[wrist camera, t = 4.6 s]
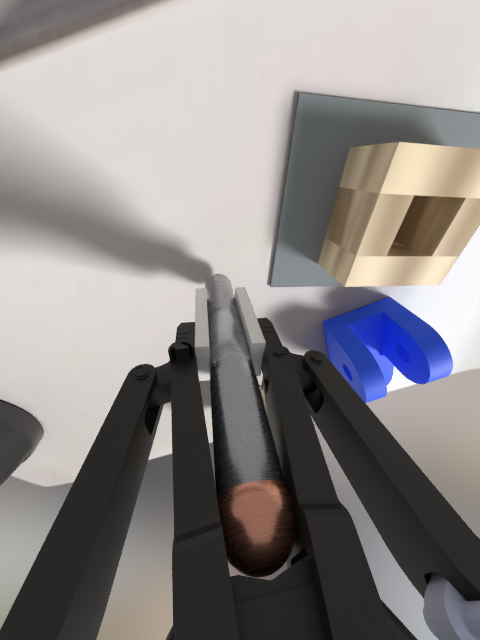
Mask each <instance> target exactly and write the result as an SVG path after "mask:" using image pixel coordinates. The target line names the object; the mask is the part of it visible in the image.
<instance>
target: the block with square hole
mask: <svg viewBox="0 0 480 640" xmlns="http://www.w3.org/2000/svg"><path fill="white" fill-rule="evenodd" d="M479 225H480V149H474V148H463V147H451V146H440V145H429V144H418V143H407V142H393V143H385V144H376V145H367V146H359V147H350V149H349V152H348V156H347V160H346V163H345V167H344V171H343V174H342V178H341V182H340V185H339V189H338V192H337V196H336V200H335V203H334V207H333V211H332V214H331V218H330V222H329V225H328V229H327V232H326V236H325V240H324V243H323V247H322V251H321V254H320V258H319V262H318V264H319V265H320V266H321V267H322V268H324V269H325V270H326V271H327V272H328V273H329V274H330V275H332V276H333V277H334V278H335V279H336V280H337V281H339V282H340V283H341V284H342V285H343V286H344V287H360V286H410V285H440V284H441V283H442V281H443V280H444V278H445V277H446V275H447V274H448V272H449V271H450V269H451V268H452V266H453V265H454V263H455V262H456V260H457V259H458V257H459V256H460V254H461V253H462V251H463V250H464V248H465V247H466V245H467V244H468V242H469V241H470V239H471V237H472V236H473V234H474V233H475V231H476V230H477V228H478V227H479Z"/></svg>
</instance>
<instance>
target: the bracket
mask: <svg viewBox="0 0 480 640" xmlns="http://www.w3.org/2000/svg"><path fill="white" fill-rule="evenodd" d="M323 328H324V334H325V340H326V346H327V352H328V358H329V360H330V362H331V363H332V364H333V365H334V366H335V368H336V369H337V370H338V371H339V372H340V374H341V375H342V376H343V377H344V378H345V380H346V381H347V382H348V383H349V384H350V386H351V387H352V388H353V389H354V390H355V392H356V393H357V394H358V395H359V396H360V398H361V399H362V400H363V401H364V402H365V403H367V402H370V401H373V400H376V399H379V398H382V397H385V396H386V394H387V387H386V386H387V385H388V383H389V382H390V381H391V379H392V375H393V367H394V366H395V367H396V368H397V369H398V370H399V371H400V372H401V373H402V374H403V375H404V376H405V377H407V378H408V379H409V380H411V381H413V382H415V383H417V384H425V383H429V382H432V381H435V380H438V379H441V378H444V377H447V376H448V375H450V373H451V371H452V368H453V361H452V357H451V354H450V351H449V349H448V347H447V345H446V343H445V342H444V340H443V339H442V338H441V336H440V335H439V334H438V333H437V332H436V331H435V330H434V329H433V328H432V327H431V326H430V325H428V324H427V323H426V322H424V321H423V320H421V319H420V318H419V317H417V316H416V315H414V314H413V313H412V312H410V311H409V310H407V309H406V308H405V307H403V306H402V305H400V304H399V303H398V302H396V301H395V300H393V299H392V298H391V297H388V298H385V299H382V300H380V301H377V302H374V303H372V304H369V305H366V306H364V307H361V308H358V309H356V310H353V311H350V312H348V313H345V314H342V315H340V316H337V317H334V318H332V319H329V320H326V321H324V322H323Z"/></svg>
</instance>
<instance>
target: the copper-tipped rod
mask: <svg viewBox="0 0 480 640" xmlns="http://www.w3.org/2000/svg"><path fill="white" fill-rule="evenodd" d="M205 289H206V297H207V313H208V330H209V347H210V361H209V370H210V389H211V408H212V427H213V445H214V464H215V483H216V494H217V501H218V508H219V514H220V520H221V525H222V530H223V536H224V542H225V548H226V555H227V560H228V562H229V563H230V564H231V565H232V566H233V567H234V568H235V569H236V570H238V571H239V572H241V573H243V574H245V575H247V576H250V577H265V576H268V575H271V574H273V573H274V572H276V571H277V570H279V569H280V568H281V567H282V566H283V565H284V563H285V562H286V561H287V559H288V558H289V556H290V554H291V552H292V549H293V547H294V543H295V539H296V517H295V510H294V505H293V500H292V497H291V493H290V491H289V489H288V487H287V486H286V483H285V479H284V475H283V472H282V468H281V464H280V461H279V457H278V453H277V450H276V446H275V443H274V439H273V435H272V432H271V428H270V424H269V421H268V417H267V413H266V410H265V406H264V402H263V399H262V395H261V391H260V388H259V384H258V380H257V377H256V373H255V369H254V366H253V362H252V358H251V355H250V351H249V348H248V344H247V340H246V337H245V333H244V329H243V326H242V322H241V319H240V315H239V311H238V308H237V304H236V300H235V296H234V293H233V289H232V285H231V282H230V280H229V279H228V278H227V277H226V276H224V275H222V274H215V275H212V276H210V277H209V278H208V279H207V281H206V283H205Z"/></svg>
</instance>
